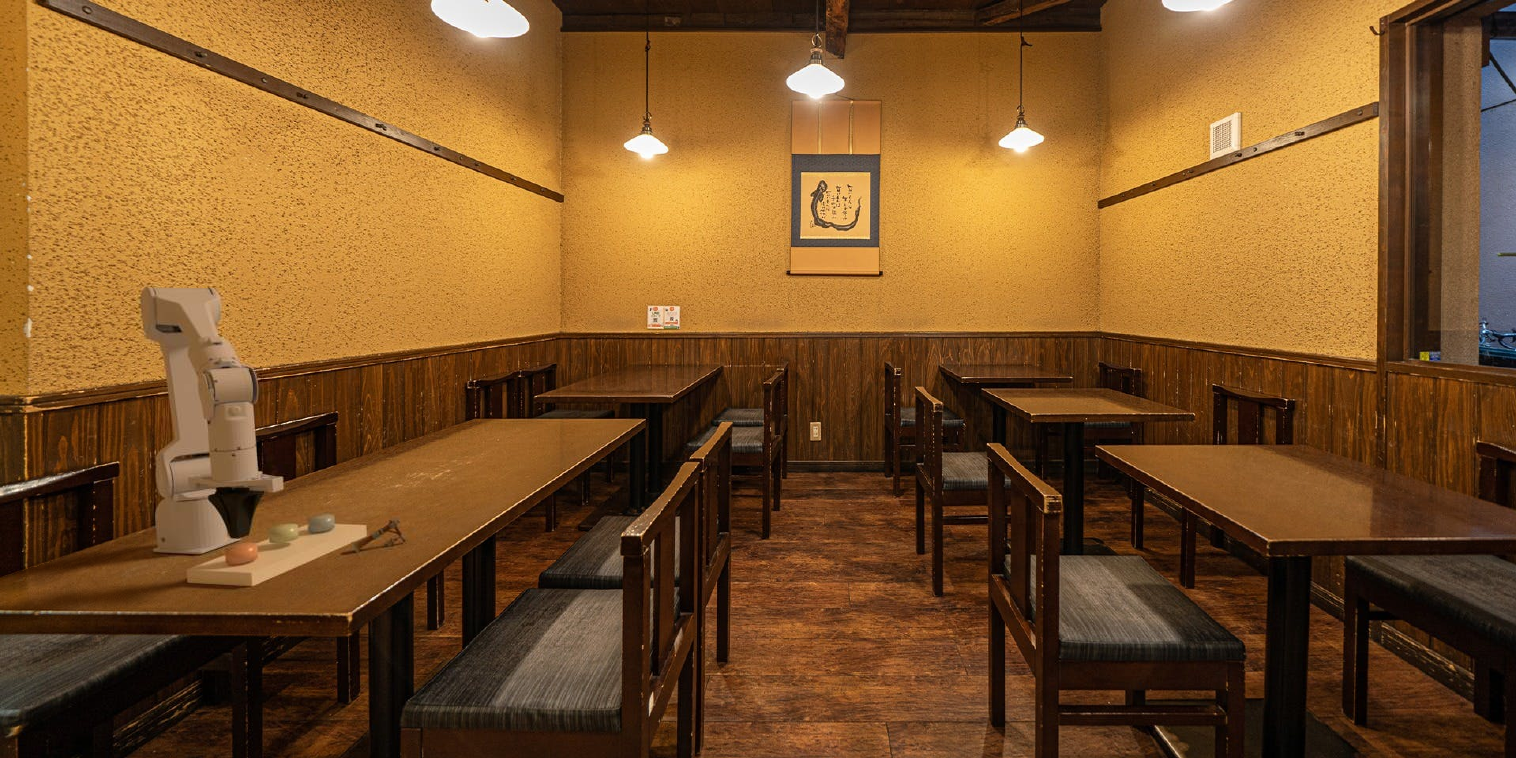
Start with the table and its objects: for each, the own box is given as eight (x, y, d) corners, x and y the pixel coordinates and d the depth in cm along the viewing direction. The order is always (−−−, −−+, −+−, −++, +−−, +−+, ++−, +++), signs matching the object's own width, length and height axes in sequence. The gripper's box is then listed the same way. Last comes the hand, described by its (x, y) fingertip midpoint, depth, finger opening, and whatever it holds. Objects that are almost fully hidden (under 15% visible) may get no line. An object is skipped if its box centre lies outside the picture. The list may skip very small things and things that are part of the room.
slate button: (302, 531, 124) (301, 520, 124) (320, 524, 128) (319, 513, 128) (323, 532, 124) (322, 521, 124) (340, 525, 128) (339, 514, 128)
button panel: (187, 582, 108) (186, 569, 107) (312, 533, 131) (311, 522, 131) (252, 586, 106) (251, 572, 106) (366, 536, 129) (366, 525, 129)
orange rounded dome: (218, 563, 109) (217, 550, 109) (241, 554, 113) (240, 542, 112) (242, 564, 108) (241, 551, 108) (264, 555, 112) (263, 543, 112)
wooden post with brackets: (412, 538, 125) (399, 517, 123) (365, 565, 121) (351, 543, 120) (410, 536, 126) (397, 514, 125) (364, 563, 123) (350, 541, 121)
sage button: (263, 542, 117) (262, 530, 116) (283, 535, 120) (282, 523, 120) (285, 543, 116) (284, 531, 116) (304, 535, 120) (303, 524, 120)
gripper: (296, 444, 112) (302, 530, 113) (215, 442, 114) (222, 527, 115) (258, 453, 105) (265, 545, 106) (172, 450, 107) (180, 540, 108)
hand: (240, 536), depth 110 cm, fingers closed
